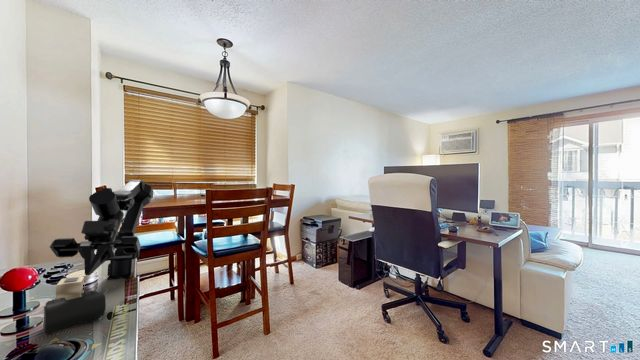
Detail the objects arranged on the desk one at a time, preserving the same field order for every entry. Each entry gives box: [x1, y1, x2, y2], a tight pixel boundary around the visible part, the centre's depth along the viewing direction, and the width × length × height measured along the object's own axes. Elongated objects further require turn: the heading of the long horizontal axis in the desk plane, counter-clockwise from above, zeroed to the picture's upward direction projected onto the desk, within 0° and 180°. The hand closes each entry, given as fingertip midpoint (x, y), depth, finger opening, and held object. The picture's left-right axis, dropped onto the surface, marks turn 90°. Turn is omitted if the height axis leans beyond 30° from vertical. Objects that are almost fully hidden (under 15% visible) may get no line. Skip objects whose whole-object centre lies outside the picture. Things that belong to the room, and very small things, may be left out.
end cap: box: [42, 289, 107, 336], centre depth 58 cm, size 10×7×7 cm
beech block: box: [55, 276, 85, 300], centre depth 71 cm, size 5×5×5 cm
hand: (87, 274), depth 63 cm, fingers closed
